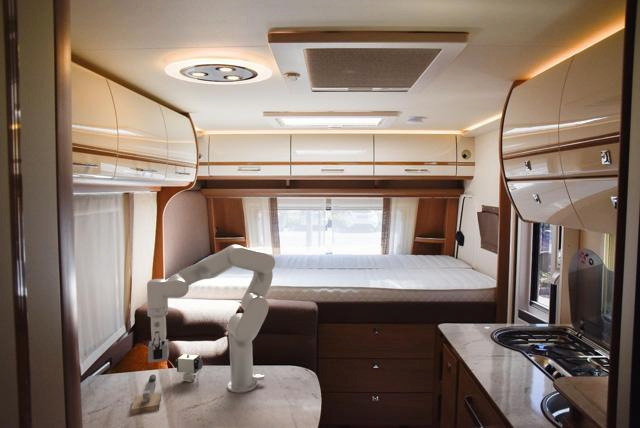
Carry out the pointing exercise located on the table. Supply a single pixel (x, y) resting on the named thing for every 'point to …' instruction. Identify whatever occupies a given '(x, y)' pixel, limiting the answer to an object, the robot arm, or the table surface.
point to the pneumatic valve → (188, 365)
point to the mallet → (147, 398)
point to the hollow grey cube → (164, 351)
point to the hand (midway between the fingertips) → (158, 354)
